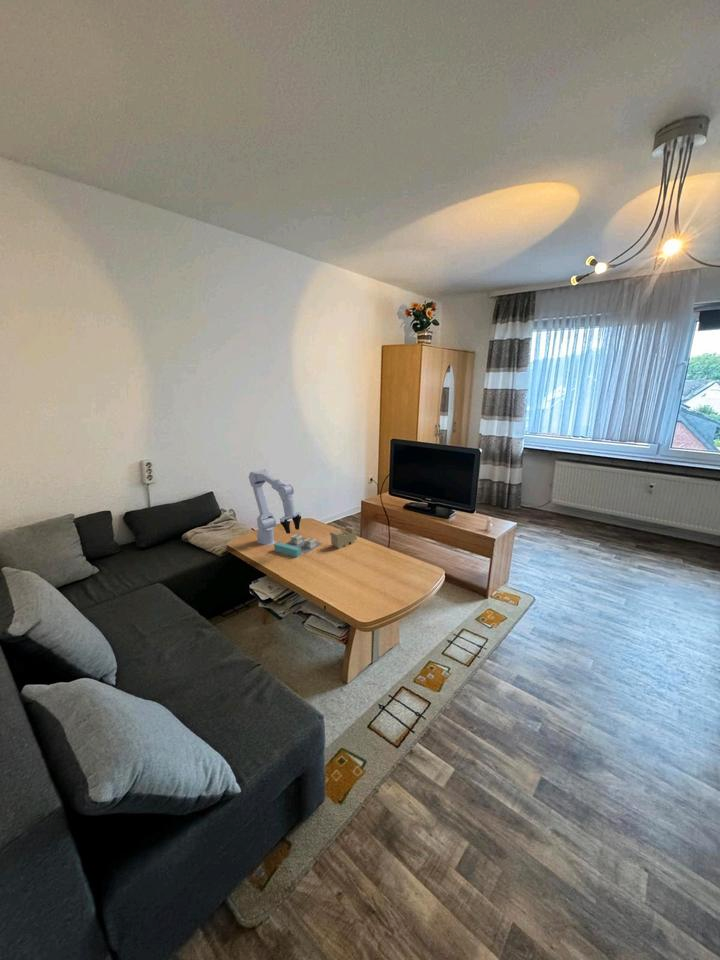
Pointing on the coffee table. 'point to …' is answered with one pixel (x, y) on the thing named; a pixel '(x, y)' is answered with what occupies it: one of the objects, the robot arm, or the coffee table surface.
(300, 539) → the pillar
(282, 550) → the teal beam
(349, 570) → the coffee table surface
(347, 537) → the toy train
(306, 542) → the pillar
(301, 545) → the grey flat plate
